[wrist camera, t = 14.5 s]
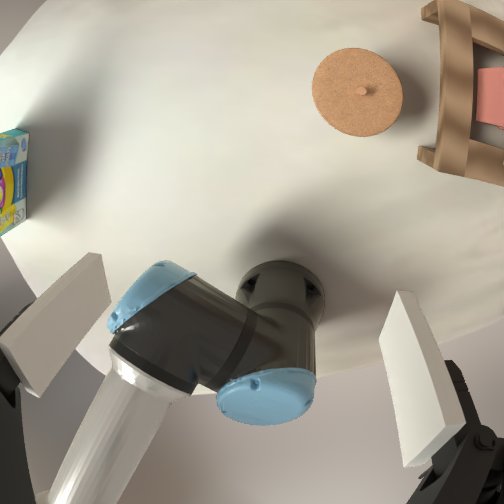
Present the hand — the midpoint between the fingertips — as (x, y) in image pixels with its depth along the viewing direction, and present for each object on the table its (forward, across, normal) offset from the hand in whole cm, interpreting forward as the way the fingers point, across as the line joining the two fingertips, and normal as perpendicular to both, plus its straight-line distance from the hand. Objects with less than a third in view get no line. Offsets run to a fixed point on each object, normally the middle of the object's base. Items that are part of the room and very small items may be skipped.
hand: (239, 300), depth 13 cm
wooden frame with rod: (+32, -28, -16) cm, 46 cm away
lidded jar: (+33, -9, -11) cm, 36 cm away
